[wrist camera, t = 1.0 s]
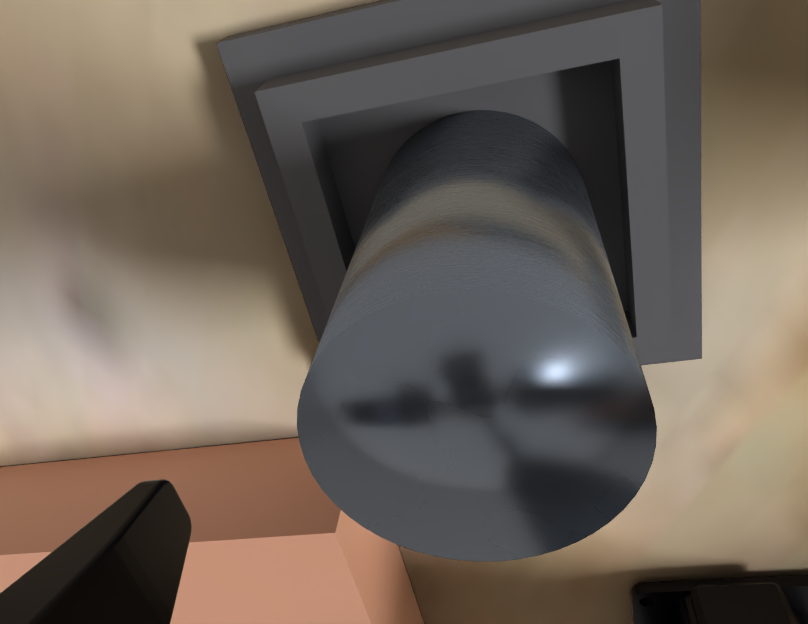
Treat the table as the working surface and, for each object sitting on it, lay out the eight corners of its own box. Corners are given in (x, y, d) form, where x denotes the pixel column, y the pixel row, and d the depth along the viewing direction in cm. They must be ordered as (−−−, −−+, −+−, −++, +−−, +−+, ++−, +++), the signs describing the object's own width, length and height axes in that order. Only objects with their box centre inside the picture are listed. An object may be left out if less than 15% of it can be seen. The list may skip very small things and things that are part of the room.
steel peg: (595, 289, 17) (662, 552, 10) (402, 315, 18) (348, 568, 11) (576, 89, 15) (648, 263, 8) (354, 133, 16) (248, 318, 9)
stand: (693, 341, 18) (714, 387, 17) (343, 381, 21) (329, 425, 19) (689, -72, 14) (717, -66, 12) (228, 36, 16) (195, 54, 14)
